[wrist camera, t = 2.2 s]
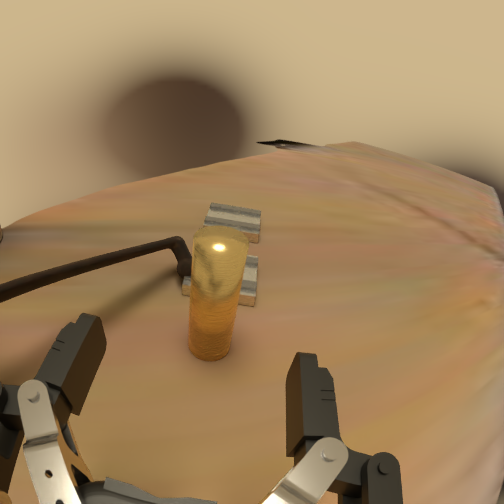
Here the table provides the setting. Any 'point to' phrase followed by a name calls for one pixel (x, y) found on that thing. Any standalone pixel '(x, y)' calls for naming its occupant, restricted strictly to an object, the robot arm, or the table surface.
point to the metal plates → (250, 227)
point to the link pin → (215, 289)
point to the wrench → (97, 266)
